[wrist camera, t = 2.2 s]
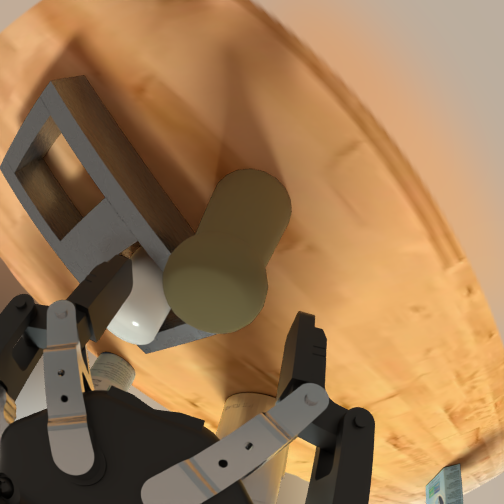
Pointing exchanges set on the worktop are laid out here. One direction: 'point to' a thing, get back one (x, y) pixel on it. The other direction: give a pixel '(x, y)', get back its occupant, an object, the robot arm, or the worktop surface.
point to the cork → (228, 254)
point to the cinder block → (110, 184)
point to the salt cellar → (142, 303)
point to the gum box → (446, 487)
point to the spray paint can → (111, 372)
